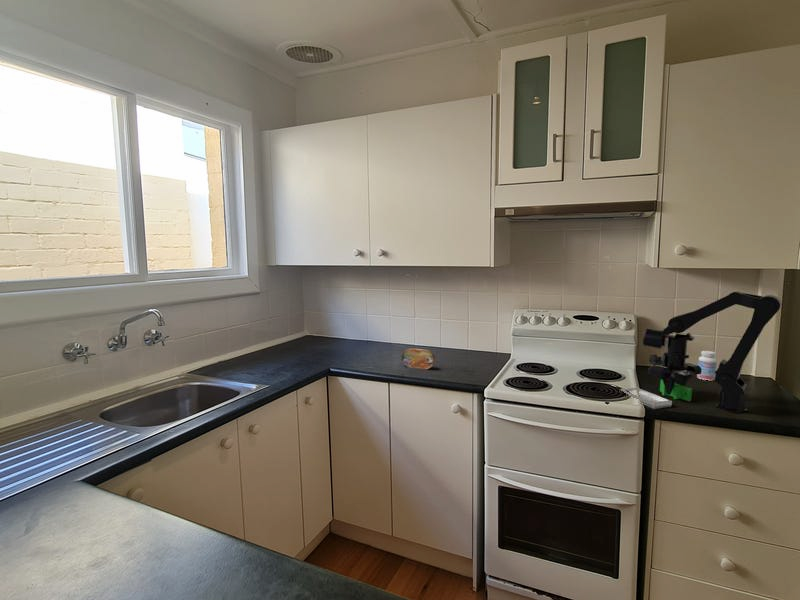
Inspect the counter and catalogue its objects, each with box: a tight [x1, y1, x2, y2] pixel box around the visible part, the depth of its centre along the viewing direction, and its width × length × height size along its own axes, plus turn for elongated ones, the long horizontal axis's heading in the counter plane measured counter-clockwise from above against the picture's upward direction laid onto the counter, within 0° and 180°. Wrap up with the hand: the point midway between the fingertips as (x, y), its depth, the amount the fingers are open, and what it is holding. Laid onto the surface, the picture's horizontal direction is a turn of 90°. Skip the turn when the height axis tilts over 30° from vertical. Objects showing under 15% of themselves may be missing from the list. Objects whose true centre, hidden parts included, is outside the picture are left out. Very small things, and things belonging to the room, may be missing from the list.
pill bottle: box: [696, 350, 718, 382], centre depth 178 cm, size 6×6×11 cm
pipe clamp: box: [659, 379, 693, 402], centre depth 157 cm, size 11×4×5 cm, turn 21°
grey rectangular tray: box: [619, 387, 673, 410], centre depth 153 cm, size 15×8×2 cm, turn 18°
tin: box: [401, 347, 436, 370], centre depth 192 cm, size 15×3×8 cm, turn 65°
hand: (673, 393), depth 157 cm, fingers closed on pipe clamp, 4 cm apart
